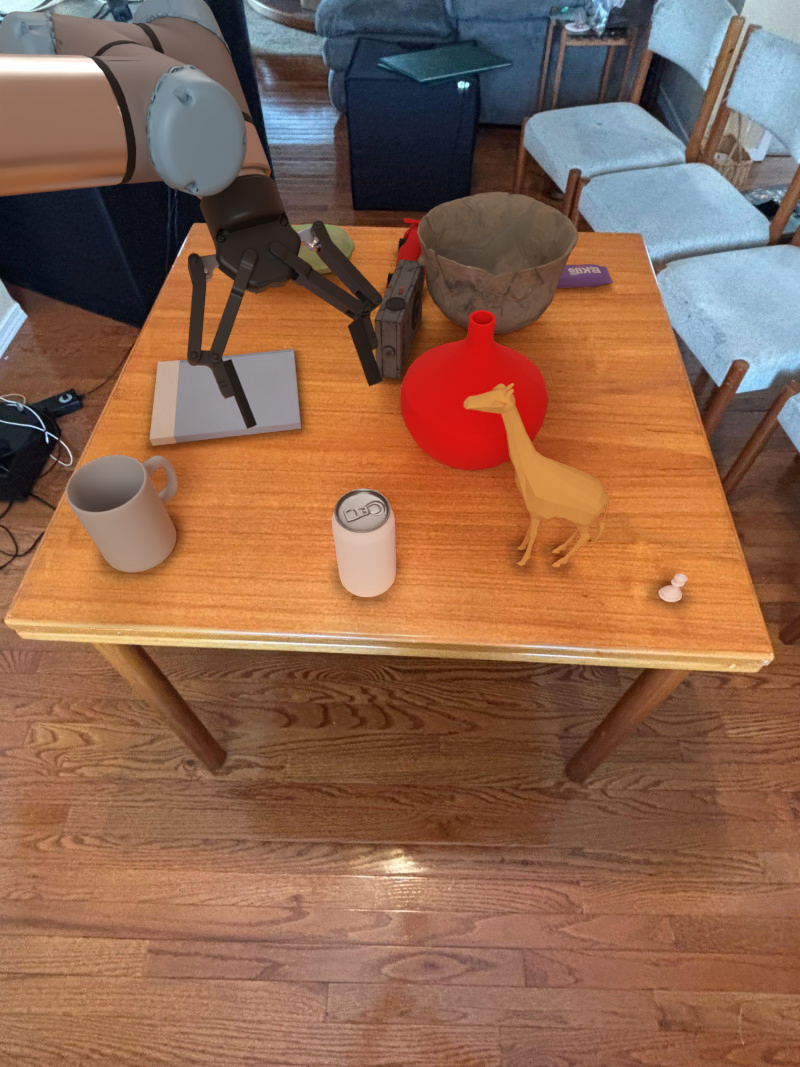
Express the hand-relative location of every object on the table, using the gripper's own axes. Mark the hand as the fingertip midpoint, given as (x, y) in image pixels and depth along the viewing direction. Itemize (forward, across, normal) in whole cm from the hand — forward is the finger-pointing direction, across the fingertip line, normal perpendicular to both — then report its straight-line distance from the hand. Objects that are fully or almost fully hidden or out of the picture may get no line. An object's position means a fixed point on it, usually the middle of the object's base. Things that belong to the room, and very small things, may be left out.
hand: (315, 405), depth 64 cm
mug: (+8, +21, -17) cm, 28 cm away
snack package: (-6, -56, -31) cm, 65 cm away
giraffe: (+24, -17, -1) cm, 29 cm away
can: (+20, 0, -5) cm, 20 cm away
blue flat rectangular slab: (-6, +5, -30) cm, 31 cm away
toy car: (-17, -33, -42) cm, 56 cm away
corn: (-24, -16, -49) cm, 57 cm away
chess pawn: (+33, -29, +8) cm, 44 cm away
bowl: (-5, -38, -30) cm, 48 cm away
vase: (+11, -21, -14) cm, 28 cm away
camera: (-5, -22, -30) cm, 37 cm away
